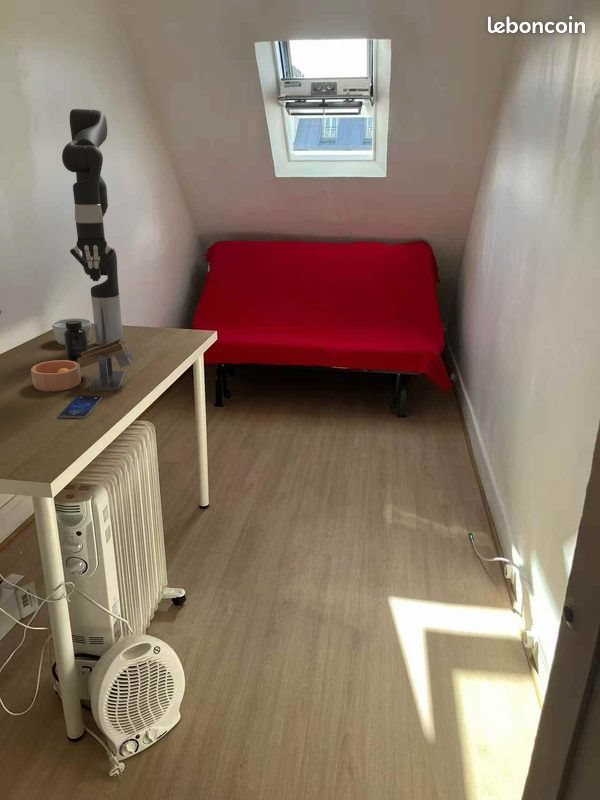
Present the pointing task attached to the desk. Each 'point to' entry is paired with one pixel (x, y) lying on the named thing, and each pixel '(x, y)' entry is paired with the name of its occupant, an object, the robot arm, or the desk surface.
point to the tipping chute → (107, 353)
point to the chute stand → (106, 376)
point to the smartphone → (80, 407)
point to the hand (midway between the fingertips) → (95, 280)
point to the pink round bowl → (56, 375)
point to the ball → (63, 370)
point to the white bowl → (60, 328)
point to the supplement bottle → (75, 340)
